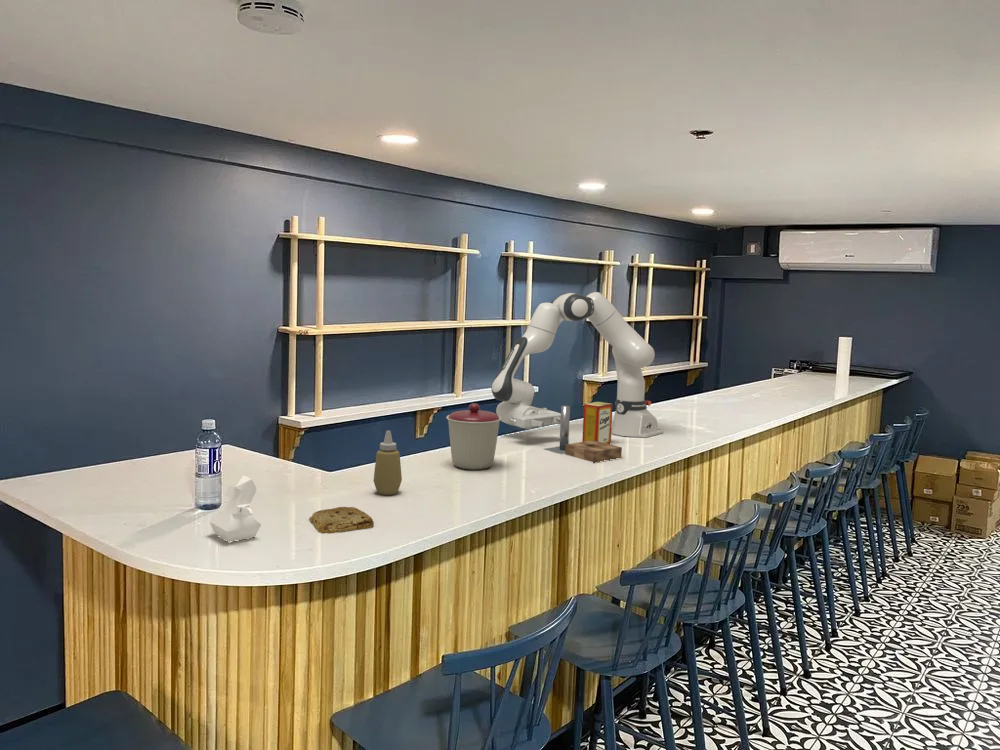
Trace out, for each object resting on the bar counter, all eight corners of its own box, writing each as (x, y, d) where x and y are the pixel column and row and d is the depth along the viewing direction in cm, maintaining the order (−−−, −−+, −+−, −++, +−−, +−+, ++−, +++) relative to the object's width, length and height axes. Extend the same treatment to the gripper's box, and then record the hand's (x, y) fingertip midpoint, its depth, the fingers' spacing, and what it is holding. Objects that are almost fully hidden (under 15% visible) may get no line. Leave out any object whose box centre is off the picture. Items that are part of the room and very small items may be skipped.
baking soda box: (596, 447, 297) (598, 405, 295) (582, 444, 302) (583, 403, 300) (610, 444, 304) (612, 402, 302) (596, 441, 309) (598, 400, 307)
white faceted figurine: (232, 548, 177) (231, 488, 175) (205, 533, 187) (204, 476, 185) (267, 540, 183) (266, 482, 181) (239, 526, 193) (238, 471, 191)
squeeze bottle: (389, 498, 221) (390, 434, 219) (367, 493, 225) (367, 431, 223) (407, 492, 228) (408, 430, 225) (385, 487, 232) (386, 427, 230)
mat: (566, 446, 297) (566, 445, 297) (585, 451, 289) (585, 450, 289) (542, 450, 290) (542, 448, 290) (561, 455, 282) (561, 454, 282)
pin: (564, 448, 292) (565, 405, 290) (570, 449, 289) (571, 406, 287) (557, 449, 290) (559, 406, 288) (563, 450, 287) (565, 407, 285)
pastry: (327, 511, 208) (327, 500, 208) (387, 519, 203) (387, 507, 203) (291, 530, 192) (291, 518, 191) (356, 539, 187) (356, 527, 186)
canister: (433, 465, 261) (435, 402, 258) (472, 457, 274) (474, 397, 271) (472, 476, 249) (474, 409, 246) (511, 467, 262) (513, 404, 259)
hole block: (592, 451, 291) (593, 440, 290) (621, 458, 280) (621, 447, 279) (565, 455, 282) (565, 444, 281) (593, 463, 271) (593, 451, 270)
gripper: (507, 411, 298) (531, 417, 287) (547, 407, 310) (572, 412, 300) (506, 428, 299) (530, 434, 288) (547, 423, 311) (571, 428, 300)
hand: (552, 423), depth 294 cm, fingers open, 8 cm apart
